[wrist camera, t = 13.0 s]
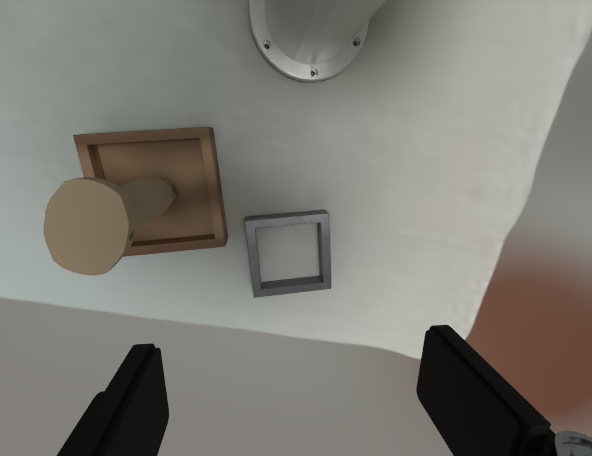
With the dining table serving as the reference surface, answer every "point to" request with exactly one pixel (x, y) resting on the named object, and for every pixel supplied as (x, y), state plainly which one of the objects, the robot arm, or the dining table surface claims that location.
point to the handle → (100, 220)
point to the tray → (168, 166)
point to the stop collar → (299, 283)
